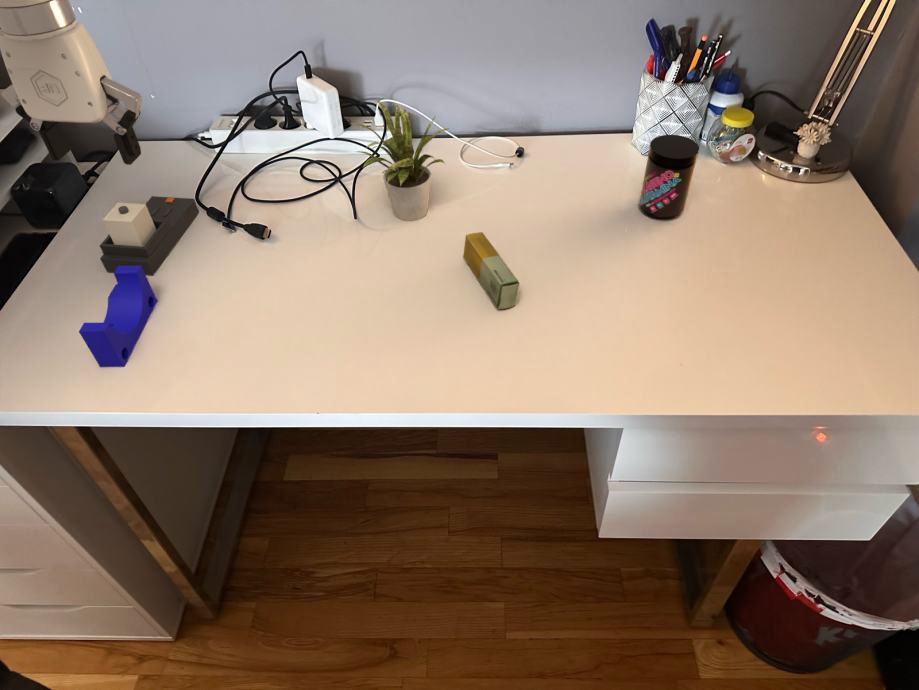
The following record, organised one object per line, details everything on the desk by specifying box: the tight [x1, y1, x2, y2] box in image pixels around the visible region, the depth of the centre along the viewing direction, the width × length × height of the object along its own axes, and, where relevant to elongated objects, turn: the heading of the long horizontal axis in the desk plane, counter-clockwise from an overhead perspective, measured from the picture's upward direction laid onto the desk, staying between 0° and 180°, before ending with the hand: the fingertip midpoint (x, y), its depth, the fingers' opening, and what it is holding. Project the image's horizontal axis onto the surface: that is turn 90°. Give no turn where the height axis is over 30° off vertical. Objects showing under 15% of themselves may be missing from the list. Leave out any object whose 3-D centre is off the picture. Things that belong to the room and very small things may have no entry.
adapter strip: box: [99, 195, 200, 276], centre depth 98 cm, size 7×16×4 cm, turn 172°
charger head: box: [102, 202, 156, 247], centre depth 93 cm, size 4×4×6 cm
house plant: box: [351, 98, 449, 222], centre depth 98 cm, size 14×14×16 cm
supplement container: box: [638, 134, 700, 221], centre depth 98 cm, size 7×7×10 cm
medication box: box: [462, 231, 520, 311], centre depth 89 cm, size 12×3×4 cm, turn 23°
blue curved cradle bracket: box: [78, 266, 158, 368], centre depth 84 cm, size 12×4×6 cm, turn 179°
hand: (97, 157), depth 85 cm, fingers open, 9 cm apart
